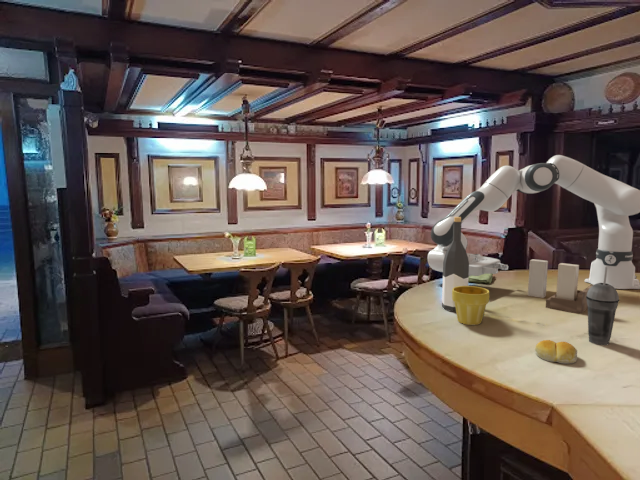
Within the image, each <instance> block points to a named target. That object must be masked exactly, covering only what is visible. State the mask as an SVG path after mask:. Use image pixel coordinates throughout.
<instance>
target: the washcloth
mask: <svg viewBox="0 0 640 480" xmlns="http://www.w3.org/2000/svg"><path fill="white" fill-rule="evenodd" d="M493 275H494V274H492V273H490V274H482V275H479V276H473V275H471V276H469V278H468V283H475V284H486V285H491V284H492V281H493Z"/></svg>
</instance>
